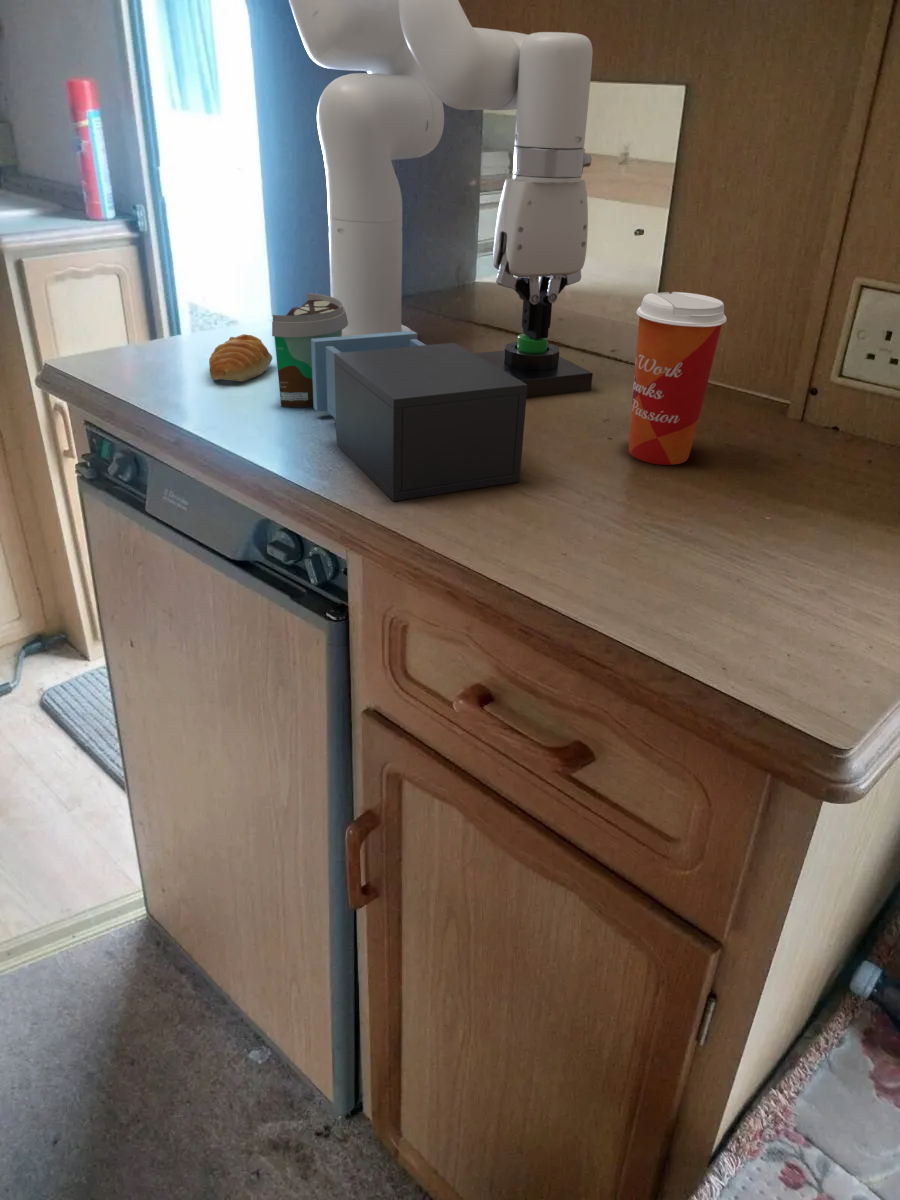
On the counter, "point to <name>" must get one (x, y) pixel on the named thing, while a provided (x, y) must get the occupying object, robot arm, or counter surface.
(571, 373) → the block
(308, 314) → the food container
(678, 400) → the coffee cup
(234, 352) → the pastry
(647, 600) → the counter surface
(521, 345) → the button
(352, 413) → the dark grey box
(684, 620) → the counter surface
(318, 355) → the blue drawer
